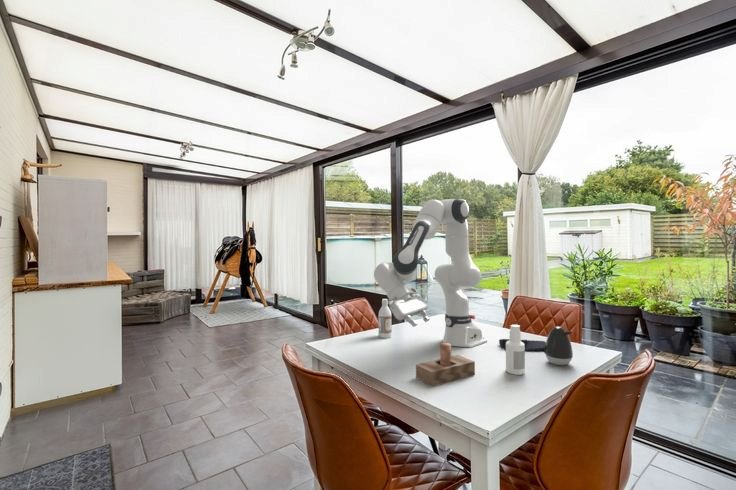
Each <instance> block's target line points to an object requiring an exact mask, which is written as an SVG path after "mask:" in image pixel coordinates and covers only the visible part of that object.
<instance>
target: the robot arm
mask: <svg viewBox="0 0 736 490" xmlns="http://www.w3.org/2000/svg"><path fill="white" fill-rule="evenodd" d="M469 215H470V205H469V203H468V201H467V200H466V199H464V198H446V199H443V200H442V199H441V200H438V199H434V198H433V199H429V200H427V201H426V202H425V203H424V204H423V205H422V208H421V209H420V210H419V212H418V214H417V216H416V218H415V220H414V223H413V226H412V230H411V232H410V234H409V235H408V237H407V239H406V242H405V243H404V245H403V246H402V247H400V249H398V251H396V252H395V253H394V255H393V258H392V262H385V261H384V262H381V263H380V264H378V265H377V266H376V267H375V269H374V271H373V278H374V280H375V281H376V283H377V284H378V286H379V287H380V288H381V290H382V291H383V292H385V293H386V296H387V300H388V307H389V309H390V311H391V314H393V316H394V318H395V319H397V321H402V320H404V321H405V322H407V323H409V324H410V326H412V327H416V326H418V322H417V321H416V320H414V319H413V318H412V317H413V316H417V315H420V316H422V320H423V321H424V322H425V323H427V322H428V321H430V317H429V316H428V314H427V311H426V310H428V309H429V305H428V304H427V303H428V302H426V300H425V298H423V297H422V295H420V294H419V291H418V290H417V288H414V287H409V286H408V285H407V284H409V283H411V282H412V281H414V280H415V279H416V277H417V275H418V266H419V265H418V264H419V252H420V249H421V248H422V246H423V243H424V241H425V240H430V239H432V238H434V236H435V235H436V234H437V232H438V231H439V228H440V227H441V224H442V223H445V224H446V225H445V253H446V254H447V255H448V256H449V257H450V258H451V260H452V262H453V263H443V264H440V265H438V266H437V267H436V268H435V271H434V278H435V281H436V282H437V283H438V284H439V286H440V287H441V288H442V291H443V294H444V298H445V314H444V321H445V327H444V333H443V339H442V343H449V344H451V347H463V348H464V347H465V348H473V347H476V346H477V347H478V346H479V345H482V344H485V343H487V342H488V339H487V338H485V337H483V332H482V329H481V328H480V327H479V326H478V325H476V324H475V323H474V322H473V321H472V320H475V319H476V315H474V314H470V310H469V309H470V306H469V305H470V303H469V301H470V300H469V297H468V296H467V295H466V294H464V292H463V290H462V288H463V289H464V288H465V289H466V288H467V289H470V288H476V287H478V286H479V285H480V283H481V281H482V273H481V270H480V269H479V267H477V266H476V264H474V262H473V260H472V257H471V255H470V245H469V227H468V221H467V219H468V218H469Z"/></svg>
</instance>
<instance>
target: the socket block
mask: <svg viewBox="0 0 736 490" xmlns="http://www.w3.org/2000/svg"><path fill="white" fill-rule="evenodd" d="M475 366H476V362H475V361H474V360H471V359H470V358H467V357H465V356H462V355H459V354H457V355H451V366H447V367H444V366H442V365H440V358H439V359H434V360H430V361H429V360H428V361H425V362H420V363H417V364H415V378H416V379H418V380H419V381H421V382H423V383H425V384H427V385H428V386H430V387H434V386H439V385H442V384H446V383H449V382H453V381H456V380H460V379H465V378H468V377H471V376H475V375H476V374H475V373H476V371H475V369H476V367H475Z"/></svg>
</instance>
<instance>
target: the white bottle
mask: <svg viewBox="0 0 736 490" xmlns="http://www.w3.org/2000/svg"><path fill="white" fill-rule="evenodd" d="M509 326H510V329H509V339H510V340H509V341H507V342H506V350H505V371H506V372H507V373H508V374H510V375H516V376H517V375H518V376H522V375H524V374H525V372H526V371H525V370H526V364H525V363H526V356H525V355H526V353H525V352H526V351H525V344H524V343H523V342H521V340H522V338H521V325H519V324H511V325H509Z"/></svg>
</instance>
